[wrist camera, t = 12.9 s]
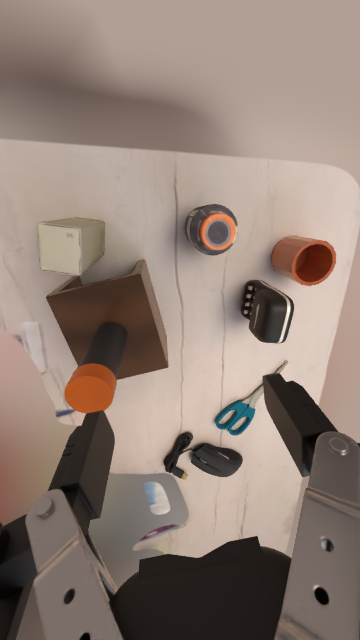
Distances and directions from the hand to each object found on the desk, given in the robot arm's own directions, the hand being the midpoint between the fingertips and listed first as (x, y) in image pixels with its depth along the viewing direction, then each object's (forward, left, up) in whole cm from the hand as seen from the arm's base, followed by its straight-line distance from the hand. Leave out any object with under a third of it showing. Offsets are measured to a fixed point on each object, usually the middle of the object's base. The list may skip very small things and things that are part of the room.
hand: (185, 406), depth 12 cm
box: (-8, -10, -31) cm, 33 cm away
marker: (+4, -9, -21) cm, 23 cm away
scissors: (+29, +11, -31) cm, 44 cm away
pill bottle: (-5, +7, -31) cm, 32 cm away
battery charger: (+8, +13, -31) cm, 34 cm away
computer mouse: (+44, -3, -31) cm, 54 cm away
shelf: (+4, -9, -31) cm, 32 cm away
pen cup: (+2, +20, -31) cm, 37 cm away
